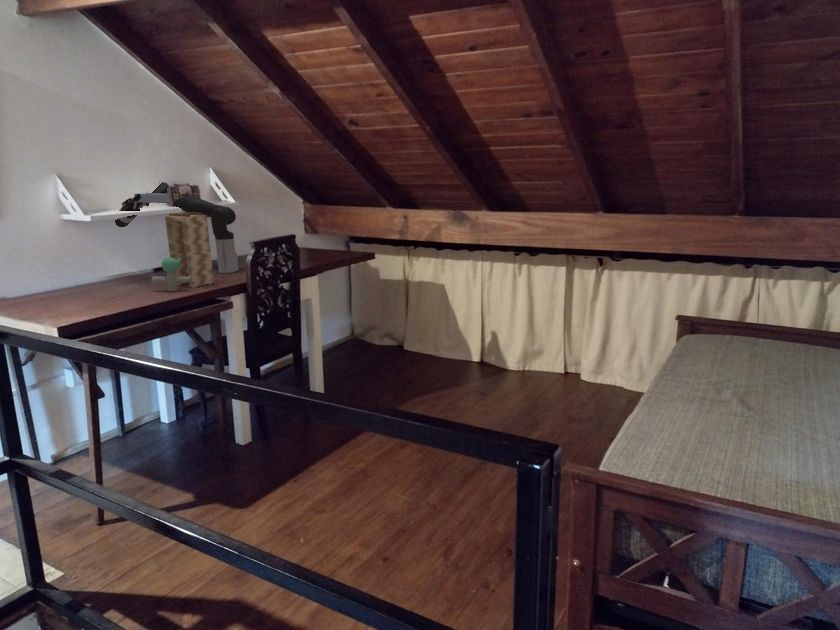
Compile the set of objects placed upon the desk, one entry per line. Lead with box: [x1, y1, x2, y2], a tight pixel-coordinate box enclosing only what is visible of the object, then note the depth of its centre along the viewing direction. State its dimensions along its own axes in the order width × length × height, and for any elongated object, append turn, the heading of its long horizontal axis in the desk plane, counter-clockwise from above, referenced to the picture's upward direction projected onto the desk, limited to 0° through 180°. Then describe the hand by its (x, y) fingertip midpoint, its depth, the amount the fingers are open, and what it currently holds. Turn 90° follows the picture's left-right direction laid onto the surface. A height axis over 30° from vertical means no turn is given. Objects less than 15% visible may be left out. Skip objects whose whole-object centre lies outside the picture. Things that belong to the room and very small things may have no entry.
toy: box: [151, 256, 192, 292], centre depth 278 cm, size 18×7×15 cm, turn 84°
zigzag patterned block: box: [164, 211, 215, 289], centre depth 289 cm, size 12×14×33 cm
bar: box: [133, 192, 170, 204], centre depth 295 cm, size 4×22×4 cm, turn 56°
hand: (144, 194), depth 298 cm, fingers closed on bar, 4 cm apart
